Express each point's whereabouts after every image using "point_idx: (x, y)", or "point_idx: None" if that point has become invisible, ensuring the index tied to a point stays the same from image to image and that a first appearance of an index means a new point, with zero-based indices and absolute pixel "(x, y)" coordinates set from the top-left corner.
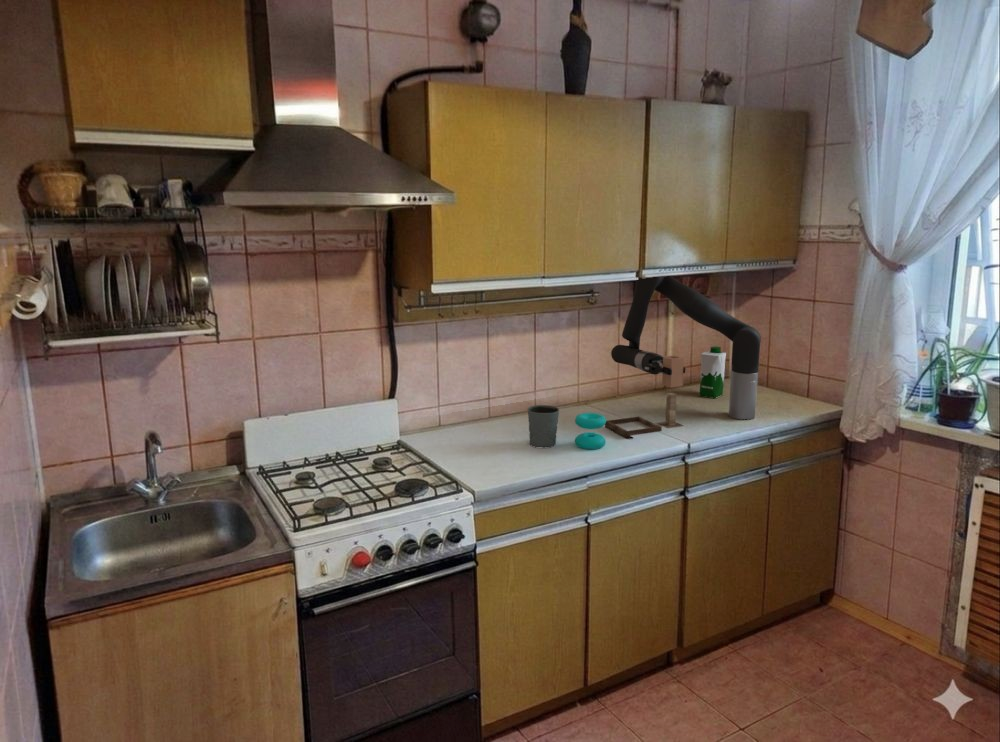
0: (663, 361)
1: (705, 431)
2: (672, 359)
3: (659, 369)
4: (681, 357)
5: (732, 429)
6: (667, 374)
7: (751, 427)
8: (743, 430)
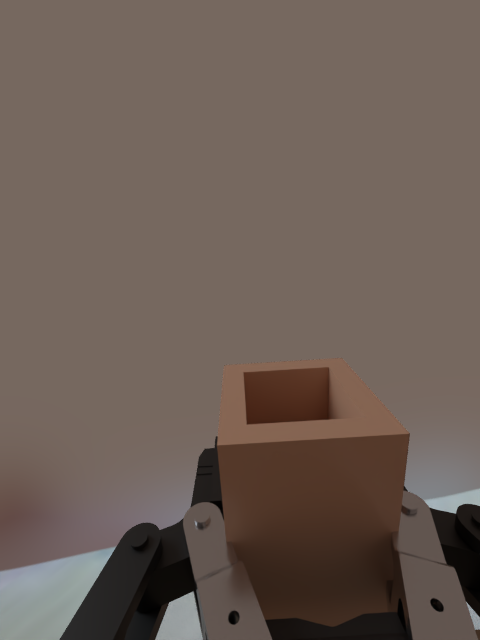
0: (398, 476)
1: (186, 607)
2: (335, 360)
3: (442, 521)
4: (232, 373)
5: (82, 590)
6: None
7: (7, 585)
8: (68, 564)
